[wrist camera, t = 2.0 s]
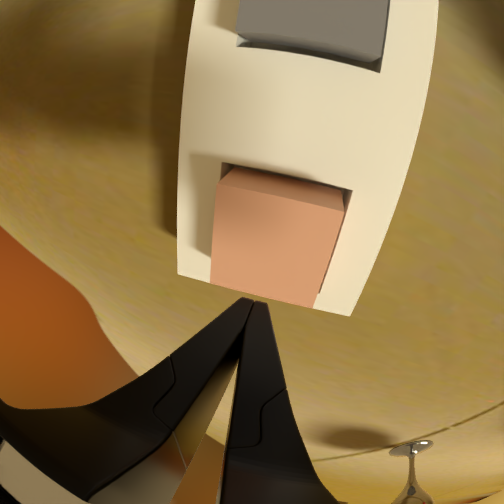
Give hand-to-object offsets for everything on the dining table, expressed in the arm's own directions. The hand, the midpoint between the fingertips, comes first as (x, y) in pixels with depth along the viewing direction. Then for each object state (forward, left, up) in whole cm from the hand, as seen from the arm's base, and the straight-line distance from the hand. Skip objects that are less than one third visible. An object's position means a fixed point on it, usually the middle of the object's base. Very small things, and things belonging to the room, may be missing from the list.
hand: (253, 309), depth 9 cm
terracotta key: (0, 0, -6) cm, 6 cm away
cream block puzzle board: (0, -11, -8) cm, 14 cm away
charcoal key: (0, -11, -6) cm, 12 cm away
